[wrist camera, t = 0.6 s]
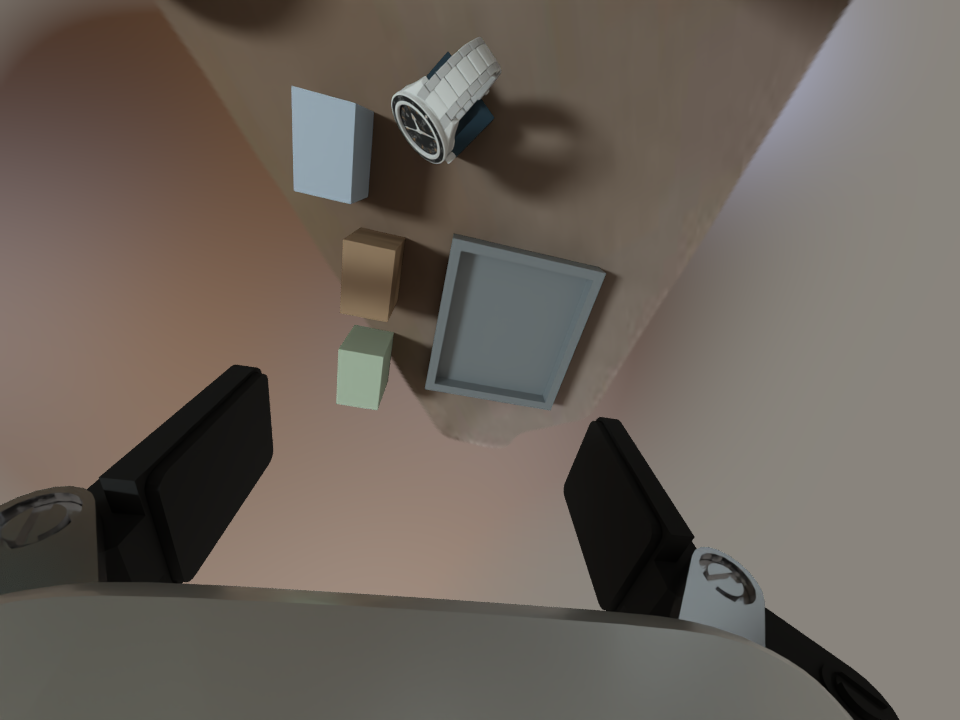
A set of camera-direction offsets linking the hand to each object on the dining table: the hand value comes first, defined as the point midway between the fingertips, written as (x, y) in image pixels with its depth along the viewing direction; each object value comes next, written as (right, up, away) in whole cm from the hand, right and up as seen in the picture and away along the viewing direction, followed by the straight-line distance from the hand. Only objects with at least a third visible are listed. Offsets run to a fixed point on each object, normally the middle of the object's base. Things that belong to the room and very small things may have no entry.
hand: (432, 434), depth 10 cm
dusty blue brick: (-11, +21, +22) cm, 33 cm away
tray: (+4, +6, +31) cm, 32 cm away
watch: (-1, +24, +21) cm, 32 cm away
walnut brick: (-9, +12, +28) cm, 32 cm away
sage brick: (-12, +3, +33) cm, 35 cm away
